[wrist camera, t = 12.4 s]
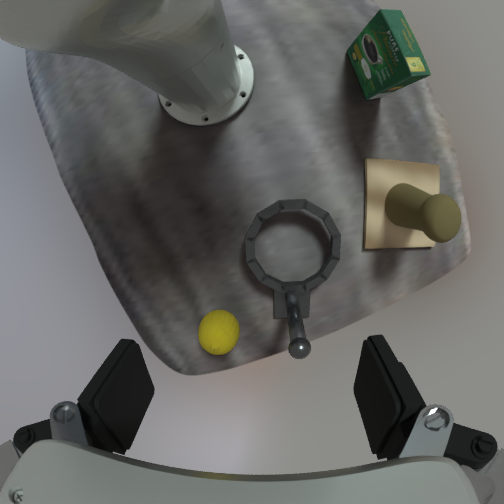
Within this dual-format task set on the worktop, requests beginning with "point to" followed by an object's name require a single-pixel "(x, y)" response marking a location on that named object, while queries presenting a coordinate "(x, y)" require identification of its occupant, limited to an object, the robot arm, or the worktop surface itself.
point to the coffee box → (387, 55)
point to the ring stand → (295, 293)
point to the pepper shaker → (423, 212)
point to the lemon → (218, 332)
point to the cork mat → (376, 189)
